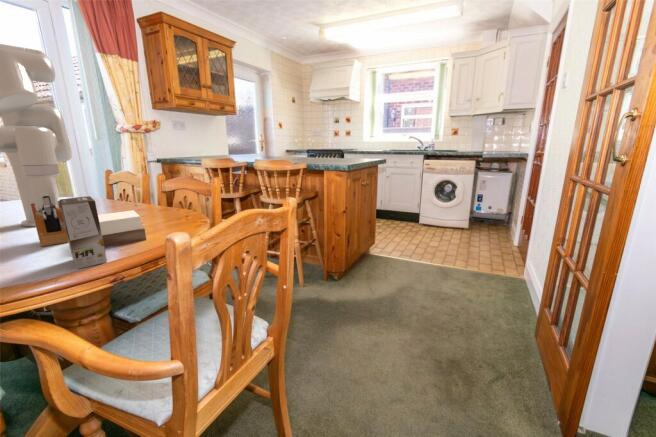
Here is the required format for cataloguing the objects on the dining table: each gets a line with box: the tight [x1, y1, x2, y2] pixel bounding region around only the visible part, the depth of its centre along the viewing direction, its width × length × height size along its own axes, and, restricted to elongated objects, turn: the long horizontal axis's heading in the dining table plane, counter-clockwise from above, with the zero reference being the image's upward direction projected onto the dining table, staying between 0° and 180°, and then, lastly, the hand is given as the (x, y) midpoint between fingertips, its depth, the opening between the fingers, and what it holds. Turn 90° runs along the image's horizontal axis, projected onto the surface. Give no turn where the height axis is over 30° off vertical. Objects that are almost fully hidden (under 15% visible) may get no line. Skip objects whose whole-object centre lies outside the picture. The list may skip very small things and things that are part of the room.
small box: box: [31, 196, 69, 248], centre depth 89 cm, size 8×6×13 cm
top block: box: [98, 209, 143, 235], centre depth 91 cm, size 11×11×4 cm
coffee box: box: [59, 195, 108, 270], centre depth 74 cm, size 9×6×16 cm
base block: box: [102, 225, 147, 248], centre depth 92 cm, size 12×12×4 cm
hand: (55, 228), depth 89 cm, fingers open, 9 cm apart
